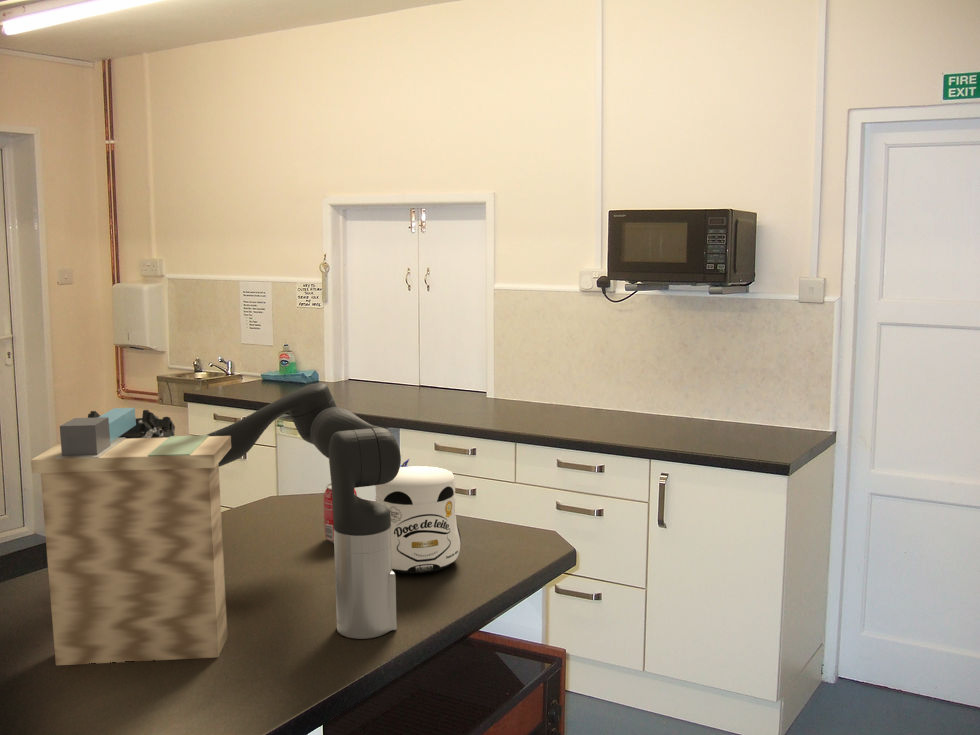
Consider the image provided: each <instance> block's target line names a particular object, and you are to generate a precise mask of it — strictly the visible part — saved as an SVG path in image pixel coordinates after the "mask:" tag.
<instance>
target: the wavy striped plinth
mask: <svg viewBox="0 0 980 735" xmlns="http://www.w3.org/2000/svg"><path fill="white" fill-rule="evenodd" d="M230 449H231V436H209V435H207V434H205V435H204V434H203V435H198V434H197V435H174V436H170V437H167V438H131V439H126V437H123V438H116V439H115V440H114V441H112V442H111V443H110V447H108V448H107V449H105V450H104V451H102V452H101V453H100V454H98V455H85V456H62V450H61V442H59V443H58V444H56V445H54V446H52V447H50V448H49V449H47V450H46V451H44V452H42V453H40V454H39V455H37V456H35V457H34V458H32V459H30V464H31V465H30V468H31V474H40V482H41V483H40V484H41V496H42V498H41V499H42V507H43V519H44V520H43V522H44V531H45V535H44V536H45V545H46V546H45V547H46V558H47V569H48V570H47V571H48V582H49V583H48V584H49V585H48V586H49V596H50V609H51V610H50V611H51V620H52V634H53V646H54V655H55V656H54V658H55V660H54V661H55V666H69V665H71V666H72V665H92V664H91V663H96V664H111V663H112V662H116V663H126V662H125V661H135V662H149V661H153V660H155V661H169V660H174V661H175V660H189V659H210V658H211V659H213V658H219V657H220V655H221V653H222V650H223V648H224V646H225V643H226V642H227V639H228V624H227V623H228V622H227V621H228V620H227V604H226V585H225V584H226V582H225V580H226V579H225V563H224V562H225V561H224V546H223V545H224V544H223V543H224V541H223V525H222V524H223V523H222V508H221V506H222V505H221V502H222V501H221V487H220V486H221V485H220V467H219V462H220V461H221V460H222V458H223V457H224V456H225V455H226V454H227V452H228V451H229V450H230ZM110 662H111V663H110ZM153 662H154V661H153ZM89 663H90V664H89ZM112 664H113V663H112Z"/></svg>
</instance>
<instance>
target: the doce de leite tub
mask: <svg viewBox="0 0 980 735" xmlns="http://www.w3.org/2000/svg"><path fill="white" fill-rule="evenodd" d="M409 466H410V467H400V469H399V472H398V474H397V476H396V477H395V478H394V479H393V480H392V481H390V482H388V483H385V484H381V485H375V502H376V503H380V504H382V505H384V506H386V507H387V508H388V509H389V511H390V515H391V555H392V570H393V572H394V573H402V574H425V573H431V572H437V571H441V570H443V569H445V568H448V566H451V565H452V564H453V563H455V562H456V560H457V559H458V557H459V554H460V550H461V542H462V541H461V533H460V529H459V526H458V525H459V524H458V522H457V517H456V516H457V515H456V501H457V500H456V498H457V497H456V480H455V476H454V474H453V472H452V471H451V470H448V469H447V468H440V467H437V466H436V467H435V466H425V465H424V466H422V465H421V466H419V465H416V466H415V465H409Z"/></svg>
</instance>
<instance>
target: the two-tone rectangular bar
mask: <svg viewBox="0 0 980 735" xmlns="http://www.w3.org/2000/svg"><path fill="white" fill-rule="evenodd" d="M135 425H136V407H120V408H119V407H116V408H112V409H110V410H109V411H107V412H105V413H103V414H101V415H100V417H98V418H88V417H74V418H72V419H70V420H68V421H66V422H65V423H63V424H61V425H59V435H60V443H61V450H62V456H85V455H98V454H100V453H101V452H102V451H104V450H105V449H107V448H108V447H110V443H111V442H112V441H114V440H115V439H116V438H118V437H119V436H121V435H122V434H124V433H125V432H127V431H128V430H130V429H131V428H132V427H134V426H135Z"/></svg>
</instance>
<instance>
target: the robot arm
mask: <svg viewBox="0 0 980 735" xmlns="http://www.w3.org/2000/svg"><path fill="white" fill-rule="evenodd" d="M288 413H289V415H290V417H291V419H292V422H293V424H294V427H295V429H296V430H297V432H298V434H299V436H300V437H301V439H302V440H303V441H305V442H307V443H309V444H311V445H314V446H315V448H316V449H317V450H318V451H319V452H320V454H322V455H323V456H325V457H326V458H327V459H328V463H329V472H330V474H329V475H330V483H331V486H332V504H333V521H334V543H333V544H334V545H333V546H334V548H333V550H334V551H333V552H334V574H335V575H334V576H335V582H334V583H335V607H336V608H335V609H336V610H335V611H336V615H335V616H336V629H337V632H338V634H340V635H341V636H344V637H346V638H350V639H358V640H359V639H361V640H362V639H363V640H364V639H373V638H377V637H381V636H383V635H386V634H387V633H389V632H391V631H396V630H397V627H398V626H397V591H396V590H397V588H396V586H397V583H396V582H397V581H396V580H397V578H396V572H394V571H393V570H392V555H391V515H390V511H389V509H388V508H387V507H386V506H384V505H382V504H380V503H376V501H372V500H371V501H370V500H367V499H364V498H361V497H359V496H358V495H357V496H356V495H355V494H354V489H356V488H365V487H371V486H372V487H373V486H374V487H375V486H376V485H381V484H385V483H388V482H390V481H392V480H393V479H394V478H395V477H396V476H397V474H398V472H399V469H400V465H402V464H401V462H402V460H401V459H402V457H401V456H402V454H401V451H400V447H399V444H398V441H397V439H396V438H395V437H394V435H393V433H391V432H390V430H389V429H387V428H385V427H380V426H377V425H373V424H371V423H369V422H367V421H365V420H363V419H362V418H360V417H359V416H358V415H356V414H355V413H354V412H352V411H351V410H349V409H346V408H344V407H339V406H338V405H337V403H336V402H335V399H334V397H333V395H332V393H331V391H330V388H329V387H328V385H327V384H326V383H324V382H316V383H310V384H307V385H306V386H302V387H300V388H298V389H296V390H293V391H292V392H290V393H288V394H286V395H283V396H282V397H280V398H279V399H277V400H274V401H273V402H271V403H269V404H267V405H265V406H264V407H261V408H259V409H258V410H256V411H254V412H253V413H250V414H249V415H247V416H246V417H244V418H241V419H240V420H238V421H236V422H234V423H232V424H229V425H228V426H225V427H222V428H220V429H217V430H215V431H212V432H210V433H207V434H206V435H209V436H231V449H230V450H229V451H228V452H227V454H226V455H225V456H224V457H223V458H222V460H221V461H220V462H219V468H220V467H223V466H224V465H228V464H230V463H232V462H236V461H237V460H239V459H240V458H242V457H244V456H245V455H247V453H249V451H250V450H251V449H252V448H253V447H254V446H255V444H256V442H258V441H259V439H260V437H261V436H262V435H263V433H264V432H265V431H266V430H267V429H268V427H269V426H270V425H271V424H272V423H273V422H274V421H276V420H277V419H278V418H280V417H282V416H284V415H285V414H288ZM100 416H101V415H100V414H99V413H98V412H97V411H96V410H90V413H88V414H87V418H98V417H100ZM175 430H176V426H175V424H174V423H173V421H172V419H171V417H169V416H164V417H162V418H159V416H157V415H155V414H154V413H153V412H151V411H150V410H149V409H143V410H142V416H141V417H139V418H136V425H135V426H134V427H132V428H131V429H130V430H128V431H127V432H125V433H124V434H122V435H121V436H119V437H118V438H123V437H126V439H131V438H167V437H170V436H175Z"/></svg>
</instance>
